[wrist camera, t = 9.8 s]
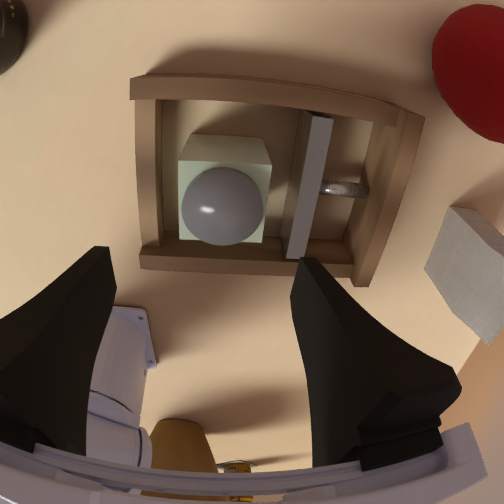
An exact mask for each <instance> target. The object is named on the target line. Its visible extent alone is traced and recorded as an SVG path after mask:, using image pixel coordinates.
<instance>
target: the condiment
mask: <svg viewBox="0 0 504 504" xmlns="http://www.w3.org/2000/svg"><path fill="white" fill-rule="evenodd" d="M216 466H217V468H218V469H222V470H224V473H251V468H250V467H254V466H256V465H253V464H250V463H247V462H242V461H235V462H229V463H224V464H221V465H220V464H219V465H216ZM225 498H226V501H227V502H252V500H253V496H225Z"/></svg>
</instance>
